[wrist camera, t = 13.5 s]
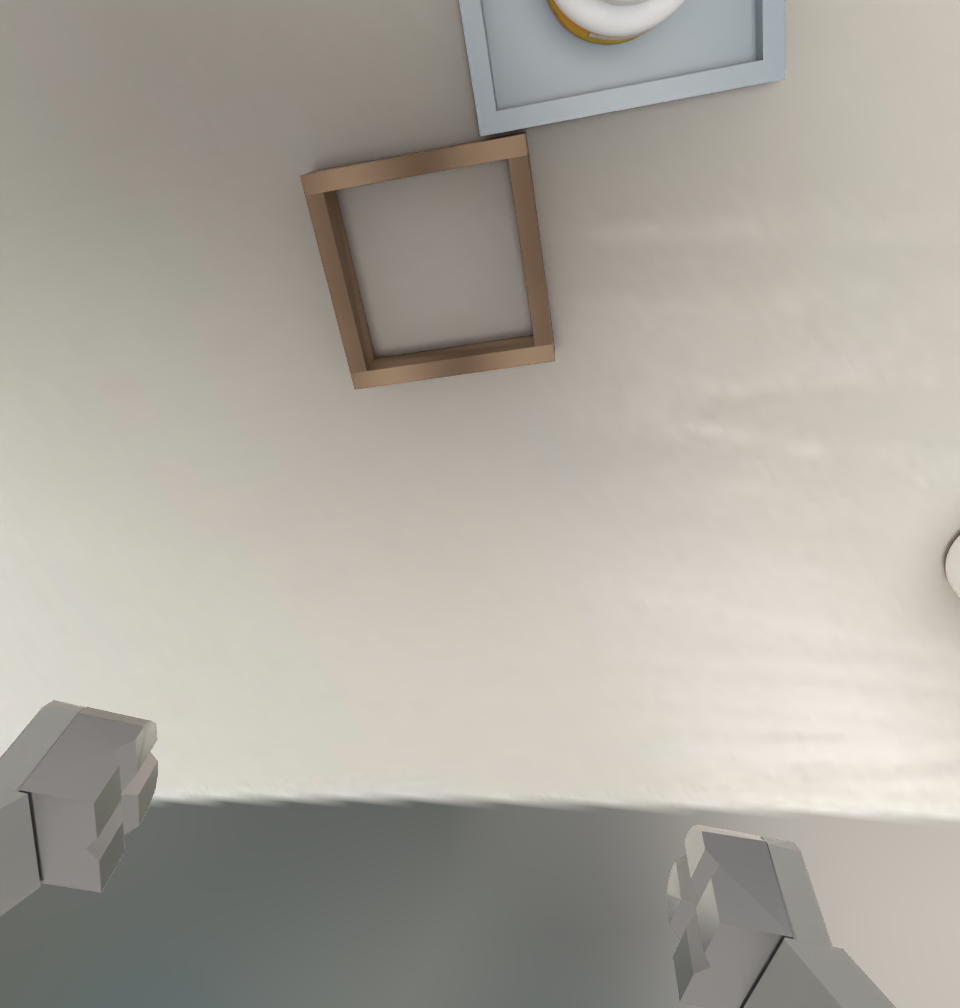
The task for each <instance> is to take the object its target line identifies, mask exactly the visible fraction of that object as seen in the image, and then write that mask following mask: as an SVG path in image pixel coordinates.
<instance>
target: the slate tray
mask: <svg viewBox="0 0 960 1008" xmlns="http://www.w3.org/2000/svg"><path fill="white" fill-rule="evenodd" d="M459 4H460V11H461V17H462V23H463V30H464V36H465V42H466V49H467V55H468V61H469V68H470V74H471V81H472V87H473V93H474V100H475V106H476V112H477V119H478V125H479V132H480V136H486V135H491V134H496V133H502V132H507V131H512V130H518V129H523V128H528V127H534V126H539V125H544V124H550V123H555V122H560V121H565V120H571V119H576V118H581V117H587V116H592V115H597V114H603V113H608V112H613V111H619V110H624V109H629V108H635V107H640V106H645V105H651V104H656V103H661V102H666V101H672V100H677V99H682V98H688V97H693V96H698V95H704V94H709V93H714V92H720V91H725V90H730V89H736V88H741V87H746V86H752V85H757V84H762V83H767V82H773V81H778V80H783V79H785V0H685V2H684V3H683V4H682V5H681V6H680V7H679V8H678V9H677V10H676V11H675V12H674V13H673V14H672V15H671V16H670V17H668V18H667V19H666V20H664V21H663V22H661V23H660V24H658V25H657V26H655V27H654V28H652V29H651V30H649V31H647V32H646V33H645V34H643V35H641V36H639V37H637V38H635V39H633V40H631V41H628V42H624V43H620V44H614V45H600V44H593V43H590V42H586V41H584V40H581V39H579V38H577V37H576V36H574V35H572V34H571V33H570V32H569V31H567V30H566V29H565V28H564V27H563V26H562V25H561V24H560V22H559V21H558V20H557V19H556V17H555V16H554V14H553V13H552V11H551V9H550V7H549V5H548V3H547V0H459Z"/></svg>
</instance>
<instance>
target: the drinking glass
mask: <svg viewBox="0 0 960 1008" xmlns="http://www.w3.org/2000/svg"><path fill="white" fill-rule="evenodd" d="M945 571H946V576H947V579H948V582H949V584H950V586H951V587H952V589H953V590H954V591H955V593H956V594H957V595H958V597H959V598H960V535H959V536H958V538H957V539H956V540H955V541H954V543H953V544H952V546H951V547H950V549H949V552H948V554H947V557H946V563H945Z"/></svg>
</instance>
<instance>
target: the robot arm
mask: <svg viewBox="0 0 960 1008" xmlns="http://www.w3.org/2000/svg"><path fill="white" fill-rule="evenodd" d="M156 741H157V730H156V723H154V722H152V721H149V720H144V719H140V718H135V717H131V716H126V715H122V714H117V713H112V712H108V711H103V710H99V709H94V708H90V707H83V706H78V705H73V704H69V703H64V702H59V701H55V700H54V701H52V702H50V703H49V704H47V705H45V706H44V707H42V708H41V710H40V711H39V712H38V713H37V714H36V716H35V717H34V718H33V719H32V720H31V722H30V723H29V724H28V725H27V726H26V728H25V729H24V730H23V731H22V732H21V734H20V735H19V736H18V737H17V739H16V740H15V741H14V742H13V743H12V745H11V746H10V747H9V748H8V749H7V751H6V752H5V753H4V754H3V755H2V757H1V758H0V916H1V915H3V914H4V913H5V912H7V911H8V910H9V909H11V908H12V907H13V906H15V905H16V904H18V903H19V902H20V901H22V900H23V899H24V898H26V897H27V896H28V895H30V894H31V893H33V892H34V891H35V890H36V889H38V888H39V887H40V883H46V884H51V885H58V886H64V887H70V888H77V889H83V890H89V891H95V892H102V890H103V888H104V887H105V885H106V883H107V882H108V880H109V878H110V876H111V875H112V873H113V871H114V869H115V868H116V866H117V864H118V862H119V860H120V859H121V857H122V855H123V854H124V835H125V834H126V833H128V832H129V831H131V830H133V829H134V828H136V827H138V826H139V825H140V823H141V821H142V819H143V818H144V816H145V814H146V812H147V810H148V808H149V805H150V803H151V800H152V797H153V794H154V791H155V788H156V782H157V776H158V761H157V760H156V759H155V757H154V756H153V755H152V754H151V752H150V751H151V749H152V748H153V746H154V744H155V743H156ZM685 847H686V853H687V854H686V855H684V856H682V857H681V858H679V859H677V860H675V863H674V866H673V868H672V871H671V873H670V877H669V882H668V889H667V915H668V923H669V927H670V929H671V930H672V931H673V933H674V934H675V935H676V937H677V938H678V939H679V941H680V942H679V944H678V947H677V949H676V951H675V953H674V955H673V960H674V966H675V973H676V980H677V987H678V994H679V1001H680V1002H682V1003H686V1004H691V1005H695V1006H700V1007H704V1008H896V1007H895V1006H894V1005H893V1004H892V1003H891V1002H890V1001H889V999H888V998H887V997H886V996H885V995H884V994H883V993H882V992H881V991H880V989H879V988H878V987H877V986H876V985H875V984H874V983H873V982H872V981H871V980H870V978H869V977H868V976H867V975H866V974H865V973H864V972H863V971H862V970H861V968H860V967H859V966H858V965H857V964H856V963H855V962H854V961H853V960H852V959H851V957H850V956H849V955H848V954H847V953H846V952H845V951H844V950H843V949H841V948H837V947H833V946H832V943H831V940H830V937H829V934H828V932H827V928H826V925H825V922H824V919H823V916H822V913H821V910H820V907H819V904H818V902H817V898H816V895H815V892H814V890H813V886H812V883H811V880H810V877H809V874H808V872H807V869H806V865H805V863H804V859H803V856H802V853H801V850H800V849H799V848H798V846H797V845H796V844H795V843H793V842H788V841H783V840H777V839H772V838H766V837H759V836H757V835H752V834H746V833H741V832H735V831H729V830H724V829H718V828H713V827H707V826H702V825H696V824H695V825H694V826H693V827H692V828H691V829H690V830H689V832H688V834H687V836H686V838H685Z"/></svg>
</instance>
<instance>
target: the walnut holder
mask: <svg viewBox="0 0 960 1008" xmlns="http://www.w3.org/2000/svg"><path fill="white" fill-rule="evenodd" d="M503 159H508V163H509V170H510V177H511V184H512V191H513V198H514V205H515V212H516V219H517V225H518V232H519V239H520V246H521V253H522V260H523V267H524V274H525V281H526V288H527V295H528V302H529V309H530V315H531V322H532V329H533V335H532V336H525V337H519V338H512V339H505V340H498V341H491V342H485V343H478V344H471V345H464V346H457V347H451V348H444V349H437V350H430V351H423V352H417V353H410V354H403V355H396V356H389V357H383V358H376V359H375V354H374V350H373V346H372V342H371V338H370V334H369V329H368V325H367V321H366V317H365V313H364V308H363V304H362V300H361V296H360V292H359V287H358V283H357V279H356V275H355V271H354V267H353V262H352V258H351V254H350V250H349V246H348V241H347V237H346V233H345V229H344V225H343V220H342V216H341V212H340V208H339V204H338V200H337V195H336V191H335V190H339V189H345V188H350V187H356V186H361V185H367V184H372V183H378V182H383V181H388V180H394V179H399V178H405V177H410V176H416V175H421V174H427V173H432V172H438V171H443V170H449V169H454V168H460V167H465V166H471V165H476V164H482V163H487V162H492V161H498V160H503ZM300 177H301V181H302V185H303V189H304V193H305V197H306V200H307V204H308V208H309V212H310V216H311V220H312V224H313V228H314V232H315V236H316V240H317V244H318V247H319V251H320V255H321V259H322V263H323V267H324V271H325V275H326V279H327V283H328V287H329V291H330V294H331V298H332V302H333V306H334V310H335V314H336V318H337V322H338V326H339V330H340V334H341V337H342V341H343V345H344V349H345V353H346V357H347V361H348V365H349V369H350V373H351V377H352V381H353V384H354V388H355V389H362V388H369V387H376V386H383V385H390V384H397V383H404V382H411V381H418V380H425V379H433V378H440V377H447V376H454V375H461V374H468V373H475V372H482V371H489V370H496V369H503V368H510V367H517V366H524V365H531V364H539V363H546V362H553V361H555V347H554V339H553V332H552V324H551V317H550V309H549V302H548V294H547V286H546V279H545V271H544V264H543V256H542V249H541V241H540V234H539V226H538V219H537V211H536V204H535V196H534V189H533V181H532V174H531V166H530V159H529V151H528V144H527V136H526V132H522V133H517V134H511V135H506V136H501V137H495V138H490V139H485V140H479V141H474V142H468V143H463V144H458V145H452V146H447V147H442V148H436V149H431V150H426V151H420V152H415V153H410V154H404V155H399V156H394V157H388V158H383V159H378V160H372V161H367V162H362V163H356V164H351V165H346V166H340V167H335V168H330V169H324V170H319V171H314V172H310V173H307V174H304V175H301V176H300Z"/></svg>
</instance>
